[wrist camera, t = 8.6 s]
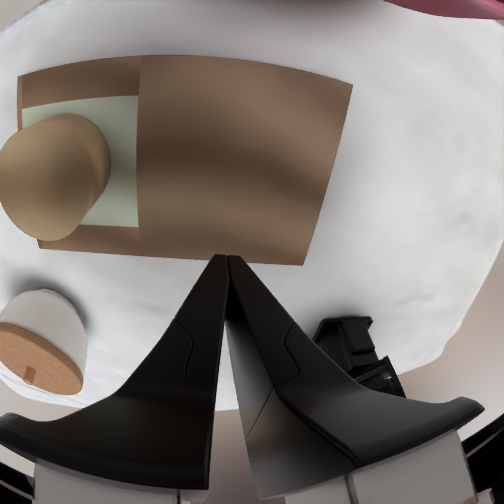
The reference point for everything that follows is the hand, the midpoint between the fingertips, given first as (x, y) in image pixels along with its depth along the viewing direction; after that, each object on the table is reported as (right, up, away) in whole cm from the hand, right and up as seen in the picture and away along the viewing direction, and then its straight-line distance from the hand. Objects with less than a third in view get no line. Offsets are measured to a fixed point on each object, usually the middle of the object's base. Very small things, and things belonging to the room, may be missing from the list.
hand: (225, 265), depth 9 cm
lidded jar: (-20, -6, +15) cm, 26 cm away
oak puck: (-11, +6, +6) cm, 14 cm away
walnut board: (-5, +6, +8) cm, 11 cm away
